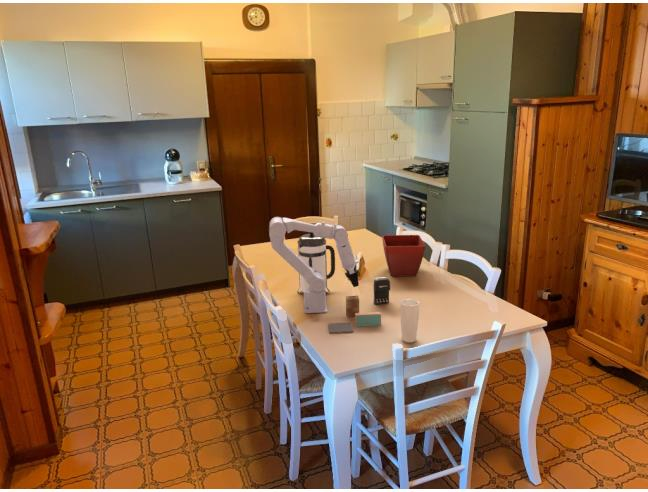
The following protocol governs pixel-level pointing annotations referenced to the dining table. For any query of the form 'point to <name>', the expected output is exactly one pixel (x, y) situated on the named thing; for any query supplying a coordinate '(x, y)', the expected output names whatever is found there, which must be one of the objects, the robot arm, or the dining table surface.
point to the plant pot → (403, 254)
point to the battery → (381, 290)
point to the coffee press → (315, 257)
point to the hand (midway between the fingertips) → (355, 282)
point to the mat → (340, 327)
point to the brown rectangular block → (352, 306)
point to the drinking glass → (409, 319)
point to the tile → (368, 319)
